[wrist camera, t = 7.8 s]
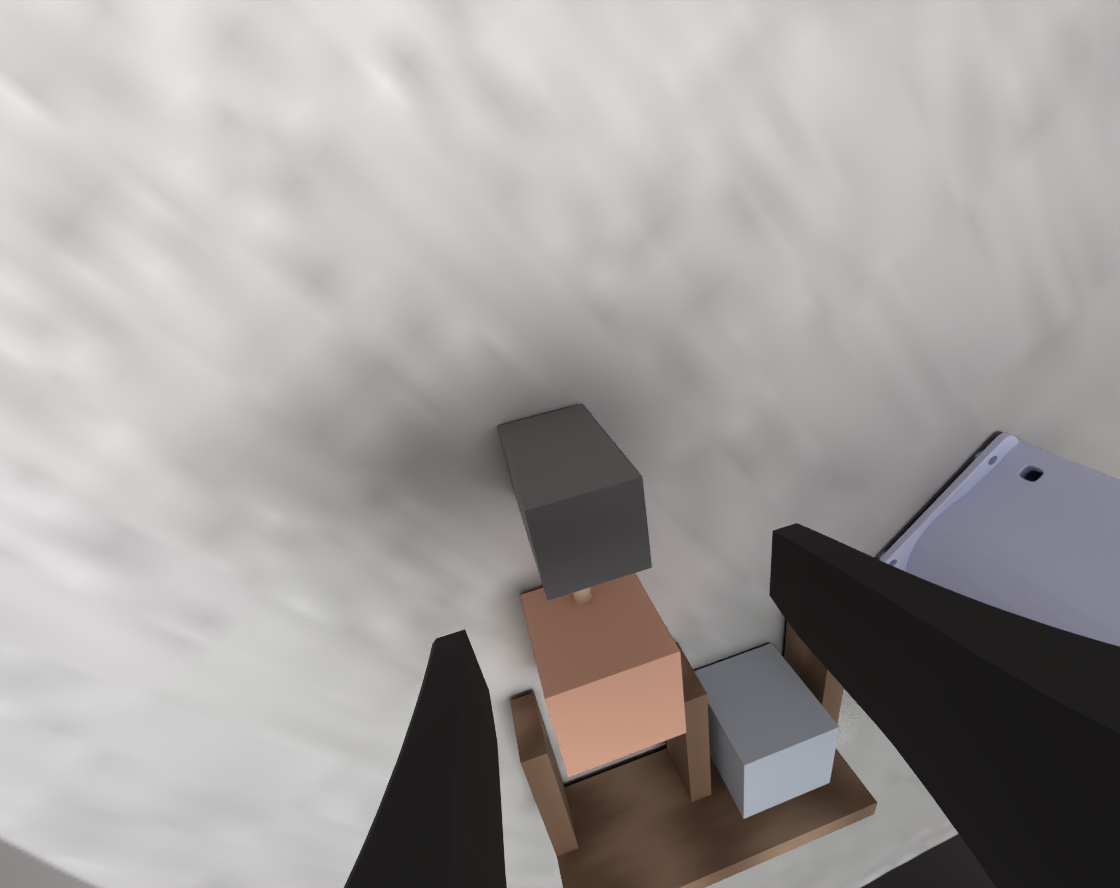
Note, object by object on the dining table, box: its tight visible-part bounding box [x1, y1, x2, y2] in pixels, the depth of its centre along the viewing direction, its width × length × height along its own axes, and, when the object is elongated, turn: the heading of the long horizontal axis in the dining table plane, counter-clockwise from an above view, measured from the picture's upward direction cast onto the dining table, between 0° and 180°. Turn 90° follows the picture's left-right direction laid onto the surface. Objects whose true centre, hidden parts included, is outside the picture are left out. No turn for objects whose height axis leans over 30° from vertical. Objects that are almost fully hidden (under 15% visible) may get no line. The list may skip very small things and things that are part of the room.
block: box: [694, 643, 839, 819], centre depth 25 cm, size 5×5×5 cm
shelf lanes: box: [511, 621, 877, 888], centre depth 24 cm, size 17×10×6 cm, turn 101°
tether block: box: [497, 404, 686, 777], centre depth 17 cm, size 5×13×6 cm, turn 11°
